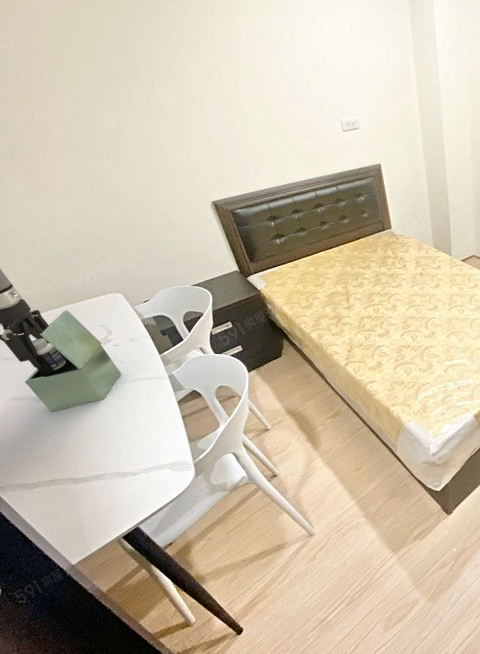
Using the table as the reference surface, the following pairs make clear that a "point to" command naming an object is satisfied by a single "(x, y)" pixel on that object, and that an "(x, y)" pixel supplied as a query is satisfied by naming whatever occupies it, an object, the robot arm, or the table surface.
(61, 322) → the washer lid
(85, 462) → the table surface
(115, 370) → the open box
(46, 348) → the pill bottle
